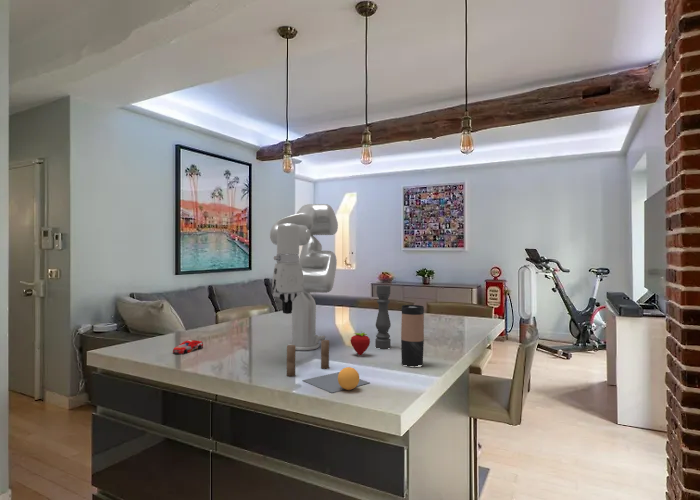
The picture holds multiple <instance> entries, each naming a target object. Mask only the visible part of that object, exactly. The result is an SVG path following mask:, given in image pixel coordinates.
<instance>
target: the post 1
mask: <svg viewBox="0 0 700 500" xmlns="http://www.w3.org/2000/svg"><path fill="white" fill-rule="evenodd" d="M295 348H296V346H295V345H288V344H287V346H286V376H287V377H295V376H296V350H295Z"/></svg>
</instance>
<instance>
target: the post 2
mask: <svg viewBox="0 0 700 500" xmlns="http://www.w3.org/2000/svg"><path fill="white" fill-rule="evenodd" d="M320 345H321V346H320V369H322V370H328V369H330V340H328V339H325V340H321V341H320Z"/></svg>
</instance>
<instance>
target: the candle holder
mask: <svg viewBox="0 0 700 500" xmlns="http://www.w3.org/2000/svg"><path fill="white" fill-rule="evenodd" d="M376 296H377V298H378V299H377V300H376V303H378V312H377V317H376V321H375V327H376V329H377V333H376V335H375V339H374V340H375V341H374V342H375V343H374V344H375V347H376V348H380V349H379V350H389V349H388V348H390V349H391V342H392V341H391V335H390V333H389V330H390V328H391V320H390V314H389V304H390V300H389V298H390V296H391V285H384V284H382V285H380V284H379V285H376ZM376 348H375V349H376Z"/></svg>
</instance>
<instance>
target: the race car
mask: <svg viewBox="0 0 700 500" xmlns="http://www.w3.org/2000/svg"><path fill="white" fill-rule="evenodd" d="M203 348H204V342H203V341H202V340H197V339H196V340H195V339H189V340H184V341H182V342H181V343H179V345H177V346H175V347H174V348H172V354H175V355H176V354H177V355H186V354H188V353H189V354H190V353H192V352H195V351H199V350H201V349H203Z"/></svg>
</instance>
